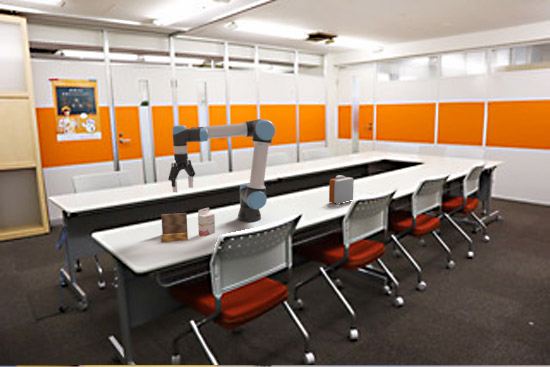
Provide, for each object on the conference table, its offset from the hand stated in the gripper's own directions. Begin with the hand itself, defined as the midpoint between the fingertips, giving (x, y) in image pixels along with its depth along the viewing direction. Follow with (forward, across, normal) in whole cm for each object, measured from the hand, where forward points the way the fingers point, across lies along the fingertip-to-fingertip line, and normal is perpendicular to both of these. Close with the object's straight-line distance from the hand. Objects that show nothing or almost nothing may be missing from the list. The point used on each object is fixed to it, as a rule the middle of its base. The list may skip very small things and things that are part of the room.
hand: (183, 189), depth 226 cm
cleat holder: (+25, +11, +2) cm, 27 cm away
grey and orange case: (+27, -109, +58) cm, 127 cm away
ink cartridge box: (+26, -2, +14) cm, 29 cm away
